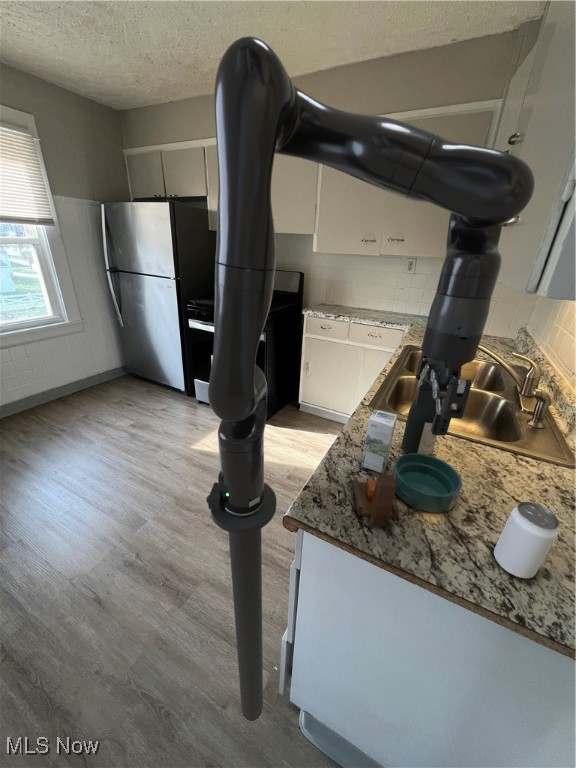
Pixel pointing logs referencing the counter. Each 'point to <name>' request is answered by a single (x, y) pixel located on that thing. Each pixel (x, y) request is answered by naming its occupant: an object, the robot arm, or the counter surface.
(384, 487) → the brown wooden holder
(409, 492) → the teal pet bowl
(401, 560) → the counter surface
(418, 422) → the wine bottle
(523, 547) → the can
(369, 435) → the syrup box
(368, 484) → the block
